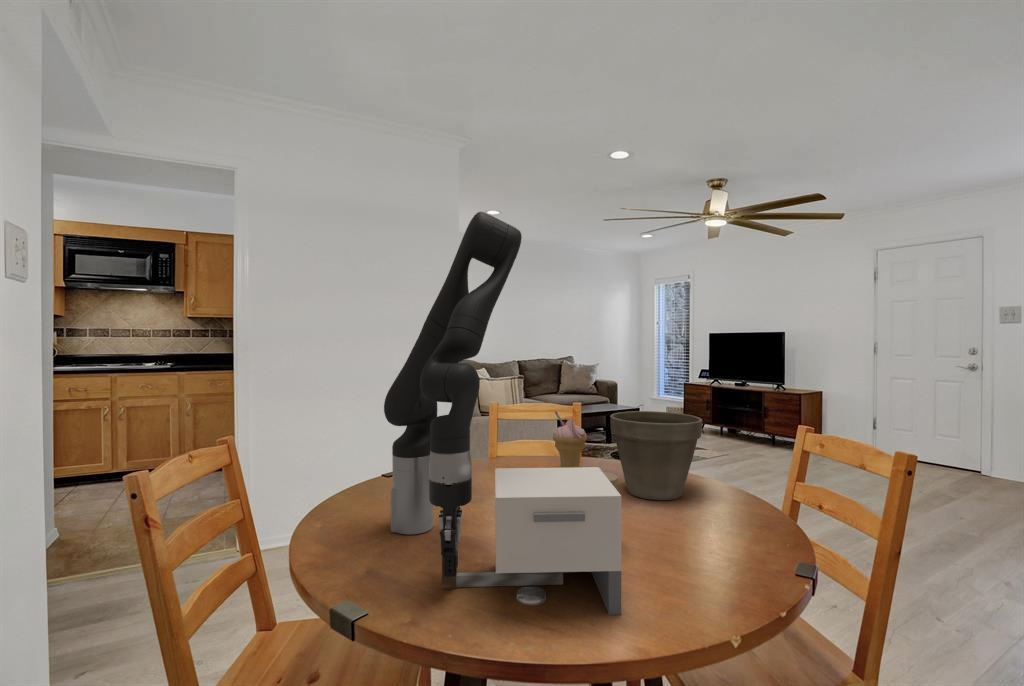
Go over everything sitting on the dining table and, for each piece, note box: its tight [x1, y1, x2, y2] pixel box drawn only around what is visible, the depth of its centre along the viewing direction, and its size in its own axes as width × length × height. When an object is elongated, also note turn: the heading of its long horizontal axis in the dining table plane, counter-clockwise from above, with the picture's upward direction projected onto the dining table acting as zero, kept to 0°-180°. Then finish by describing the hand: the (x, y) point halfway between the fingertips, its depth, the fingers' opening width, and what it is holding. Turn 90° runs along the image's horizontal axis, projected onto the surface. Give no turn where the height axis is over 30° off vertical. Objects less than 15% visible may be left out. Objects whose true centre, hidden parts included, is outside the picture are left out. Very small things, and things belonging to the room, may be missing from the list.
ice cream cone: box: [552, 410, 588, 468], centre depth 167 cm, size 11×11×20 cm
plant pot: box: [609, 410, 703, 501], centre depth 147 cm, size 25×25×22 cm
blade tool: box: [441, 556, 564, 590], centre depth 93 cm, size 21×2×10 cm, turn 92°
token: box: [515, 586, 547, 606], centre depth 89 cm, size 5×5×1 cm
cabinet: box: [494, 466, 622, 616], centre depth 92 cm, size 20×19×19 cm
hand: (451, 571), depth 93 cm, fingers closed on blade tool, 2 cm apart
